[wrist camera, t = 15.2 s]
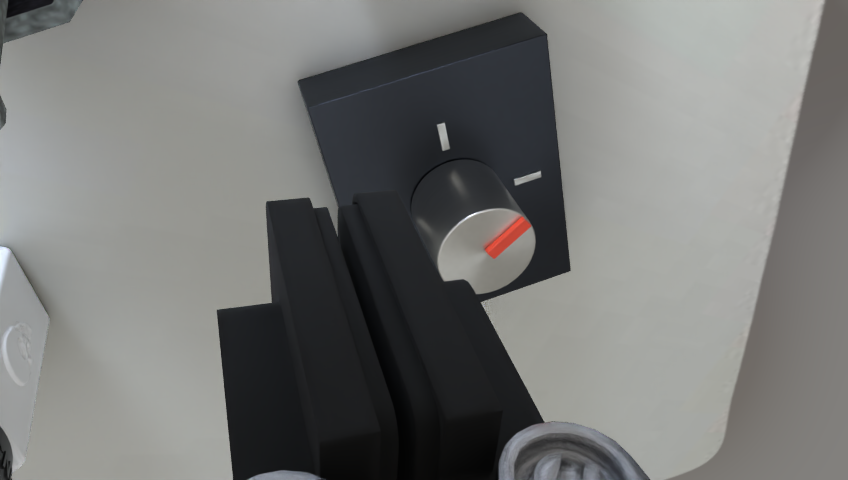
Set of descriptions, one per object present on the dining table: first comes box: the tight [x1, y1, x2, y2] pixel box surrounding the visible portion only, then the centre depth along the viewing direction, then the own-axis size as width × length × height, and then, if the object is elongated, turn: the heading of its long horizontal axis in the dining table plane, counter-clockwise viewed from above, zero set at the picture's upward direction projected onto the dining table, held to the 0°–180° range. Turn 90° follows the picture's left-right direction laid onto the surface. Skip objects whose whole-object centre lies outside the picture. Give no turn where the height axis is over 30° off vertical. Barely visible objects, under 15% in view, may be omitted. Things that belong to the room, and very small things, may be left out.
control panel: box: [298, 13, 570, 302], centre depth 39 cm, size 14×11×3 cm
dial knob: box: [411, 159, 536, 294], centre depth 36 cm, size 5×5×5 cm
